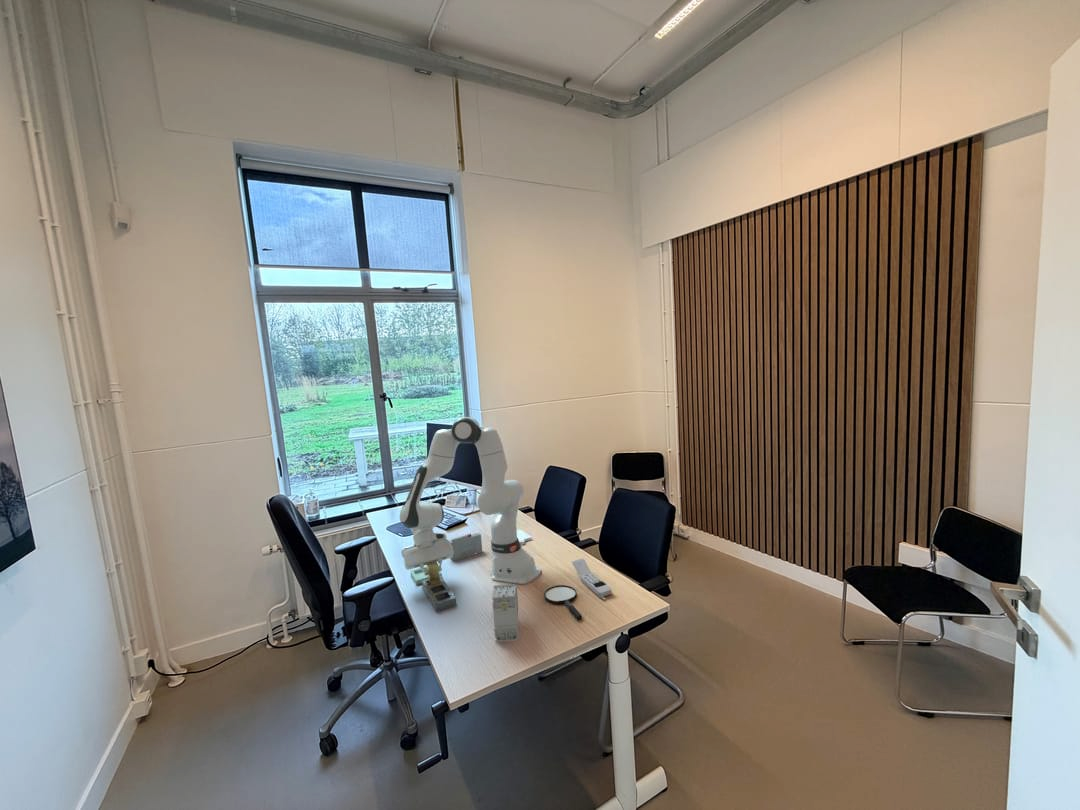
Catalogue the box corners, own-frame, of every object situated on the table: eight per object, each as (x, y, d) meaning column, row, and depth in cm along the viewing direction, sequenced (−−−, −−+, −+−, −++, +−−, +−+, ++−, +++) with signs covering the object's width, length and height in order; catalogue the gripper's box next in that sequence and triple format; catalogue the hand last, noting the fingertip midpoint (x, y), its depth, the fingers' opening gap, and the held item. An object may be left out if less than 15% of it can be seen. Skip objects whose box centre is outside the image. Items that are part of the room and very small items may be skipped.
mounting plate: (496, 537, 229) (496, 533, 229) (518, 531, 235) (518, 528, 235) (511, 548, 213) (510, 545, 213) (534, 542, 220) (533, 538, 219)
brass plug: (440, 583, 177) (438, 564, 176) (430, 586, 175) (428, 567, 174) (437, 579, 180) (435, 561, 180) (428, 582, 178) (426, 563, 178)
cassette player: (480, 550, 214) (478, 530, 213) (482, 551, 211) (480, 532, 210) (450, 559, 205) (448, 539, 205) (452, 561, 203) (450, 540, 202)
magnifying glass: (563, 626, 147) (563, 620, 147) (540, 594, 170) (539, 588, 170) (596, 616, 151) (595, 611, 151) (569, 586, 174) (568, 581, 174)
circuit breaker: (518, 615, 155) (516, 575, 154) (518, 639, 141) (514, 596, 140) (498, 616, 155) (495, 576, 154) (495, 641, 141) (491, 598, 139)
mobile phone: (583, 557, 185) (614, 582, 162) (584, 571, 185) (616, 597, 162) (570, 561, 182) (601, 587, 159) (571, 574, 183) (602, 602, 160)
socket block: (456, 605, 164) (456, 597, 164) (435, 612, 160) (435, 604, 160) (440, 581, 183) (440, 575, 183) (422, 587, 180) (421, 580, 179)
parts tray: (442, 577, 187) (441, 573, 187) (416, 585, 182) (416, 580, 182) (435, 568, 197) (435, 563, 197) (411, 574, 192) (410, 570, 192)
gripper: (400, 545, 177) (408, 577, 170) (449, 532, 187) (458, 562, 179) (399, 551, 182) (407, 583, 174) (447, 539, 191) (456, 568, 184)
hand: (433, 572), depth 177 cm, fingers closed on brass plug, 4 cm apart
